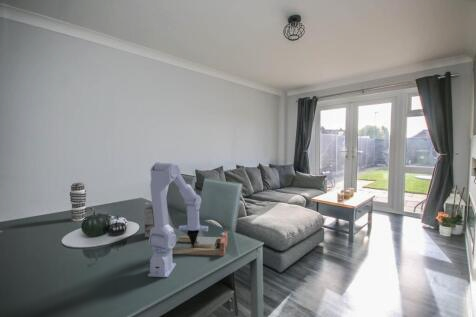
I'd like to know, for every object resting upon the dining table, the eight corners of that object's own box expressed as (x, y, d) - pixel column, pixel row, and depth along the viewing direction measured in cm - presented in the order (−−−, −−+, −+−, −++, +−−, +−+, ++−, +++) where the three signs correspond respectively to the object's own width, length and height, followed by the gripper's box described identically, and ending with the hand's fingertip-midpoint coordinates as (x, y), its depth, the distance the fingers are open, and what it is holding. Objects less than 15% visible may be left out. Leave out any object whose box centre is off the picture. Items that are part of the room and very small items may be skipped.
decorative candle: (72, 217, 154) (71, 182, 152) (88, 216, 158) (86, 181, 156) (69, 222, 146) (67, 184, 144) (85, 220, 149) (84, 183, 148)
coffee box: (155, 238, 121) (154, 209, 120) (144, 237, 122) (143, 208, 121) (163, 231, 130) (163, 204, 129) (153, 230, 131) (153, 204, 130)
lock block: (214, 252, 105) (214, 244, 105) (194, 251, 106) (194, 243, 105) (217, 244, 113) (217, 237, 113) (198, 244, 114) (198, 236, 113)
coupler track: (223, 256, 101) (223, 243, 101) (170, 253, 103) (170, 241, 103) (227, 242, 116) (227, 231, 115) (181, 240, 118) (180, 229, 117)
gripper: (209, 215, 112) (209, 241, 113) (181, 215, 113) (182, 240, 114) (206, 220, 105) (206, 248, 106) (176, 219, 106) (177, 246, 107)
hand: (193, 244), depth 110 cm, fingers closed
